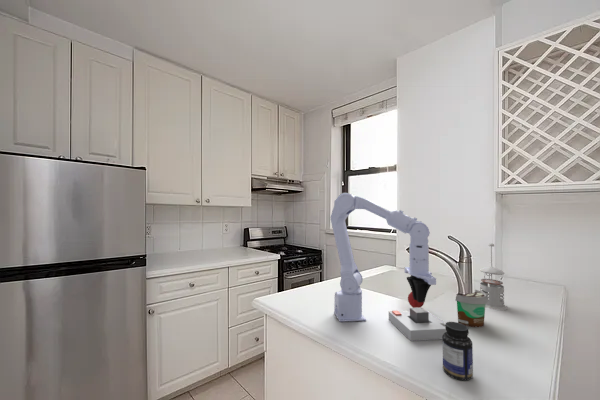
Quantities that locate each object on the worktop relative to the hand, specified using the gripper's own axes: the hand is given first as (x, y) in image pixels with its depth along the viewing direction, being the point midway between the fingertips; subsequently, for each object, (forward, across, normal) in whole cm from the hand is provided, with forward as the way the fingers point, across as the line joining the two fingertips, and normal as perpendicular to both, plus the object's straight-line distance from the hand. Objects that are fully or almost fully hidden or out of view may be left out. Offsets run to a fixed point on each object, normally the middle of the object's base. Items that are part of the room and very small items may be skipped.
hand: (419, 300), depth 83 cm
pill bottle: (+9, -22, +4) cm, 24 cm away
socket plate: (+9, 0, 0) cm, 9 cm away
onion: (+9, +15, -8) cm, 19 cm away
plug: (+9, 0, 0) cm, 9 cm away
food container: (+9, +1, -21) cm, 23 cm away
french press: (+9, +17, -42) cm, 46 cm away
